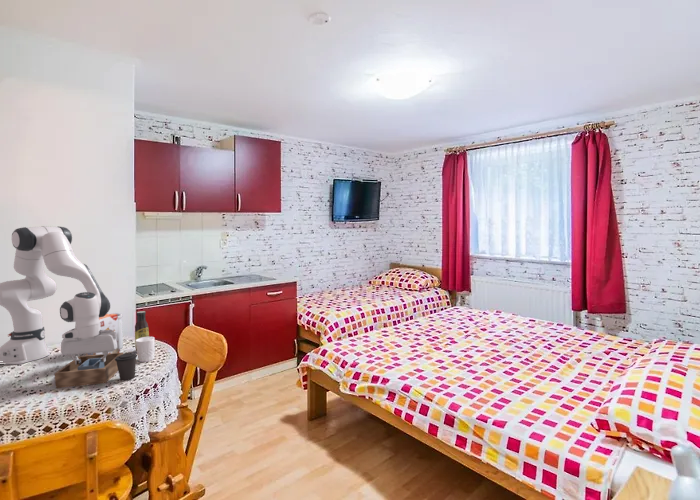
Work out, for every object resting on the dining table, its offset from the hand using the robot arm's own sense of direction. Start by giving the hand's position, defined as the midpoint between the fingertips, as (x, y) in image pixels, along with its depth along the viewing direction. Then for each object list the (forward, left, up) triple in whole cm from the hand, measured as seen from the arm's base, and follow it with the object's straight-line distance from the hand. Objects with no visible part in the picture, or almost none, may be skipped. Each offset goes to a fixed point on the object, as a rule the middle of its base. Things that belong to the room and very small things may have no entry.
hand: (90, 362), depth 164 cm
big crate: (0, 0, -6) cm, 6 cm away
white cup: (+17, +15, -6) cm, 23 cm away
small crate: (0, 0, -5) cm, 5 cm away
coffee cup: (+16, -7, -6) cm, 19 cm away
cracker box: (-3, +20, -6) cm, 21 cm away
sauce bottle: (+11, +30, -6) cm, 32 cm away
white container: (-8, +38, -6) cm, 39 cm away
